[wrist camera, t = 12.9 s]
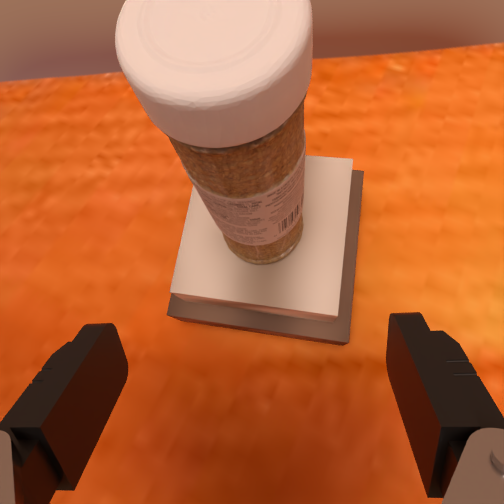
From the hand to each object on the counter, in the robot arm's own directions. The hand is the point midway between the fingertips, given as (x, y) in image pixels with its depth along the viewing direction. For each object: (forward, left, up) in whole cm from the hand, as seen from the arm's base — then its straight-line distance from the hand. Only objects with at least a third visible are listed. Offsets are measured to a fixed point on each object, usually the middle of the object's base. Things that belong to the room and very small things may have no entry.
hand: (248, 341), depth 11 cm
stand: (-1, +7, -14) cm, 16 cm away
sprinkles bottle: (-1, +7, -9) cm, 11 cm away
